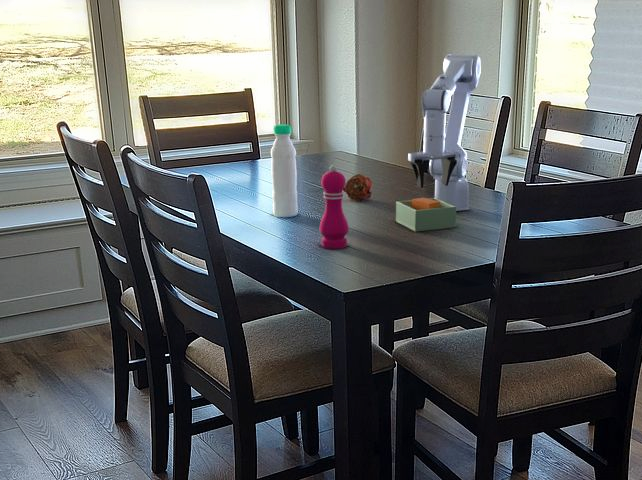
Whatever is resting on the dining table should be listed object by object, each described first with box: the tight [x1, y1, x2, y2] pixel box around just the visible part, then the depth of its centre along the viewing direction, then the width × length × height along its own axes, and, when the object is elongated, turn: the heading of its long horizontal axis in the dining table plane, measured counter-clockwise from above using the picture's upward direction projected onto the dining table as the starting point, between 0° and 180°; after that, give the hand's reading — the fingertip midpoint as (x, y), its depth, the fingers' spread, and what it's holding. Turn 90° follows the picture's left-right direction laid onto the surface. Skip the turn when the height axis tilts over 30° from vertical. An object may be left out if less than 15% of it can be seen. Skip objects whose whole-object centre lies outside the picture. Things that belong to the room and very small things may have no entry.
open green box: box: [395, 197, 457, 232], centre depth 232 cm, size 12×12×6 cm
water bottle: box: [270, 123, 299, 218], centre depth 238 cm, size 7×7×25 cm
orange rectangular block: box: [411, 197, 440, 210], centre depth 232 cm, size 4×7×6 cm, turn 38°
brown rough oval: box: [342, 173, 373, 202], centre depth 261 cm, size 8×8×12 cm
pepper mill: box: [319, 164, 350, 250], centre depth 209 cm, size 7×7×20 cm
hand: (432, 186), depth 235 cm, fingers open, 7 cm apart
